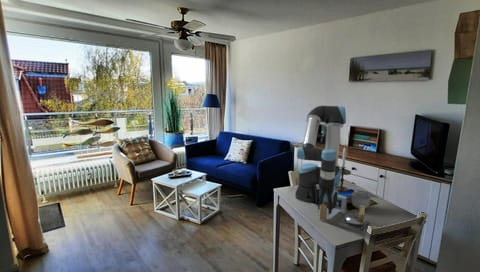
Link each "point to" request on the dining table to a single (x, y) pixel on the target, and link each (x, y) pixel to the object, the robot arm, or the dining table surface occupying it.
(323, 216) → the post in wooden base
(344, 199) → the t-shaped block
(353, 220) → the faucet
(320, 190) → the flower pot
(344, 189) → the candlestick
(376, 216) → the dining table surface
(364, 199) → the teacup
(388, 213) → the dining table surface
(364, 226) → the wheel stand
